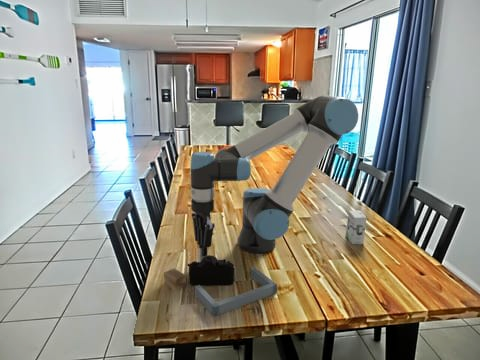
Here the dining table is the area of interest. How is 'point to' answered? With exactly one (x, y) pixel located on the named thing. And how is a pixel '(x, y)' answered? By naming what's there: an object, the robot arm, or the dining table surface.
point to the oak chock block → (174, 279)
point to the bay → (241, 299)
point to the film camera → (211, 272)
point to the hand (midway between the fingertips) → (203, 262)
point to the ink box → (356, 227)
